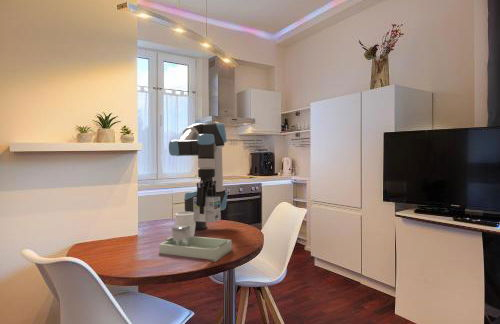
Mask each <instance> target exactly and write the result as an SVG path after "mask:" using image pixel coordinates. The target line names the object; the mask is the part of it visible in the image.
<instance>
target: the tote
mask: <svg viewBox="0 0 500 324" xmlns="http://www.w3.org/2000/svg"><path fill="white" fill-rule="evenodd" d="M232 244H233V243H232V239H226V238H225V239H224V238H216V237H215V238H214V237H205V236H203V237H202V236H195V235H194V236H190V247H187V246H178V245H172V236H170V237H167V238H166V239H165V241H163V242H161V243H158V253H159V254H164V255H172V256H179V257H188V258H194V259H195V258H196V259H204V260H205V259H206V260H208V262H210V263H215V262H217V261H218V260H220V259H222V258H223V257H225V256H226V255H227V254H230V252H232V250H233V249H232V248H233V246H232Z"/></svg>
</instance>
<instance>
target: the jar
mask: <svg viewBox="0 0 500 324" xmlns="http://www.w3.org/2000/svg"><path fill="white" fill-rule="evenodd" d="M174 216H175V220H174V221H175V222H174V227H175V226H189V227H190V236H195V231H196V230H195V226H196V223H195V221H194V212H185V211H179V212H178V211H177V212H175V214H174Z"/></svg>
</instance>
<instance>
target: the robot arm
mask: <svg viewBox="0 0 500 324" xmlns="http://www.w3.org/2000/svg"><path fill="white" fill-rule="evenodd" d="M225 126H226V125H224V123H220V122H219V123H218V122H209V123H208V122H207V123H206V122H205V123H204V122H201V123H193V124H191V125H189V126H187V127H186V128H185V129H184V130H183V132H182V133H181V134H182V135H181V136H180V137H179V139H172V140H170V141H169V143H168V152H169V154H170V156H173V157H174V156H175V157H181V156H182V157H184V156H186V157H187V156H188V157H189V156H192V157H193V156H197V167H198V170H197V177H198V178H199V179H200V181H199V182H197V183H196V189H193V190H189V191H186V192H185V193H184V200H183V201H184V212H194V209H193V198H194V197H197V203H196V205H197V206H199V207H200V221H206V206H205V201H206V196H213V197H220V209H221V211H224V210H225V209H226V208H227V203H228V193H229V191H226V187H224V182H223V181H224V180H223V148H224V147H225V144H226V143H227V142H228V141H227V134H226V132H227V131H226V127H225ZM195 223H196V226H195V231H197V230H199V231H200V230H202V229H203V230H204V229H206V228H207V226H208V225H207V223H208V222H199V221H195Z"/></svg>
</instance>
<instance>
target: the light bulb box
mask: <svg viewBox="0 0 500 324" xmlns="http://www.w3.org/2000/svg"><path fill="white" fill-rule="evenodd" d="M196 203H197V197H194V198H193V209H194V221H199V222H206V223H216V222H218V221H220V220H222V216H221V214H222V213H221V211H222V210H221V209H220V197H213V196H206V201H205V206H206V221H200V207H199V206H197V205H196Z"/></svg>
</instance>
